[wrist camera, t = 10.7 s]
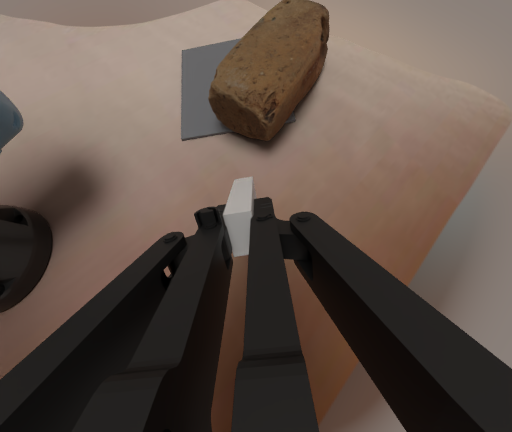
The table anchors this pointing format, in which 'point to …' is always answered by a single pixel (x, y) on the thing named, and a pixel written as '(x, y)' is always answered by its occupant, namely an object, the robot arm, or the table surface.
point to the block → (271, 69)
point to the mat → (203, 90)
